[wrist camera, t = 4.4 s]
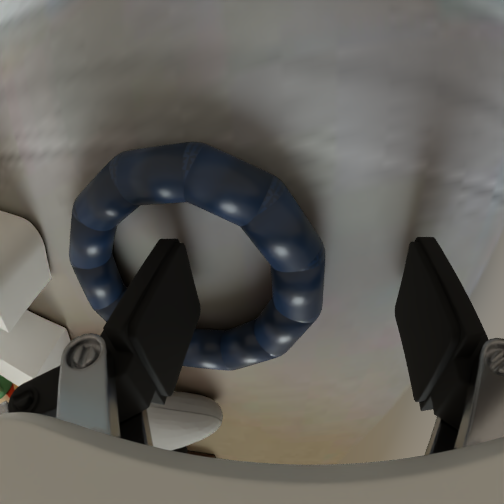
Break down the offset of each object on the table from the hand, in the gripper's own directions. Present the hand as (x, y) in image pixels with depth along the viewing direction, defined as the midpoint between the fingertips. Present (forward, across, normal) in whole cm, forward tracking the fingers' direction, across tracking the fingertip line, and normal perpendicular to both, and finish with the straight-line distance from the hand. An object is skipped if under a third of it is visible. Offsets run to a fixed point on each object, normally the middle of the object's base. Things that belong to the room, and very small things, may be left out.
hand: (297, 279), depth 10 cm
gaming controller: (+1, +10, +12) cm, 15 cm away
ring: (0, +4, 0) cm, 4 cm away
